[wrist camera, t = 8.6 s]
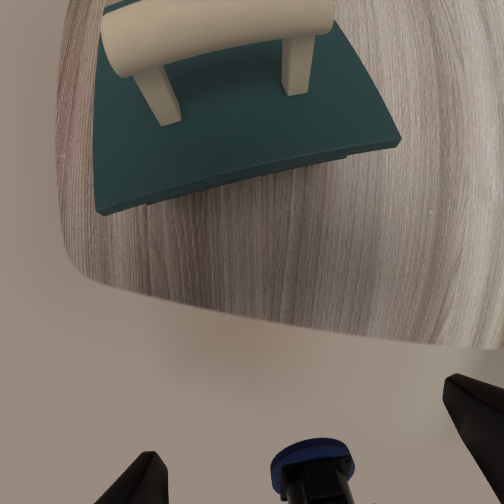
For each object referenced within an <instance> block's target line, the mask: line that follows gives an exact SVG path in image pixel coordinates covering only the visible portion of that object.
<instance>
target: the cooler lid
mask: <svg viewBox="0 0 504 504" xmlns="http://www.w3.org/2000/svg"><path fill="white" fill-rule="evenodd" d="M400 141H401V136H400V134H399V132H398V130H397V127H396V125H395V123H394V121H393V119H392V117H391V115H390V113H389V111H388V109H387V107H386V105H385V103H384V101H383V99H382V97H381V96H380V94H379V92H378V90H377V88H376V86H375V85H374V83H373V81H372V79H371V77H370V76H369V74H368V72H367V70H366V69H365V67H364V65H363V64H362V62H361V60H360V59H359V57H358V55H357V54H356V52H355V50H354V49H353V47H352V46H351V44H350V42H349V41H348V39H347V38H346V36H345V35H344V33H343V32H342V30H341V29H340V27H339V26H338V24H337V23H336V21H335V20H334V2H333V0H123V1H120V2H118V3H115V4H113V5H110V6H108V7H105V8H104V12H103V17H102V19H101V32H100V40H99V48H98V57H97V67H96V79H95V94H94V116H93V173H94V196H95V210H96V212H97V213H99V214H101V215H102V216H107V215H110V214H113V213H116V212H120V211H123V210H126V209H129V208H132V207H136V206H139V205H142V204H146V203H149V202H152V201H156V200H159V199H163V198H166V197H170V196H173V195H177V194H181V193H184V192H188V191H192V190H195V189H199V188H203V187H207V186H210V185H214V184H218V183H222V182H226V181H230V180H234V179H238V178H242V177H247V176H251V175H255V174H259V173H264V172H268V171H273V170H277V169H282V168H286V167H291V166H296V165H300V164H305V163H310V162H315V161H320V160H325V159H331V158H336V157H341V156H347V155H352V154H358V153H364V152H370V151H376V150H382V149H388V148H395V147H397V145H398V144H399V142H400Z"/></svg>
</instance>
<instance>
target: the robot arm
mask: <svg viewBox="0 0 504 504" xmlns="http://www.w3.org/2000/svg"><path fill="white" fill-rule="evenodd" d="M443 402H444V405H445V407H446V409H447V410H448V413H449V415H450V417H451V418H452V420H453V423H454V425H455V427H456V429H457V431H458V433H459V435H460V437H461V439H462V440H463V442H464V444H465V445H466V447H467V448H468V450H469V451H470V453H471V455H472V456H473V458H474V459H475V461H476V463H477V464H478V466H479V467H480V469H481V471H482V472H483V474H484V476H485V477H486V479H487V481H488V482H489V484H490V486H491V487H492V489H493V491H494V492H495V494H496V496H497V498H498V499H499V501H500V503H501V504H504V389H503V388H500V387H497V386H494V385H491V384H488V383H485V382H482V381H479V380H476V379H473V378H470V377H467V376H464V375H461V374H458V373H457V374H453V375H451V376H449V377H447V378H446V379H445V383H444V390H443ZM351 463H352V457H351V455H344V456H338V457H333V458H327V459H321V460H315V461H308V462H301V463H293V464H285V465H283V466H281V486H280V499H281V501H288V504H355V503H354V500H353V497H352V494H351V491H350V489H349V486H348V483H347V478H348V474H349V471H350V467H351ZM94 504H169V498H168V471H167V467H166V465H165V464H164V463H163V461H162V460H161V458H160V457H159V455H158V454H157V453H156V452H155V451H146V452H142V453H141V454H140V455H139V456H138V457H137V458H136V460H135V461H134V462H133V463H132V464H131V465H130V466H129V467H128V468H127V470H126V471H125V472H124V473H123V474H122V475H121V476H120V477H119V478H118V479H117V480H116V481H115V482H114V483H113V485H111V486H110V488H109V489H108V490H107V491H106V492H105V493H104V494H103V495H102V496H101V497H100V498H99V499H98V500H97V501H96V502H95V503H94Z"/></svg>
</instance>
